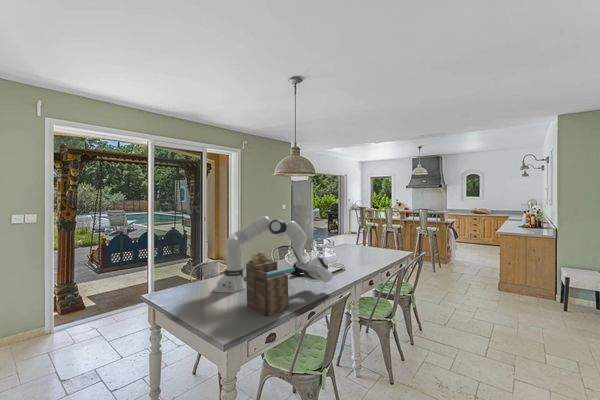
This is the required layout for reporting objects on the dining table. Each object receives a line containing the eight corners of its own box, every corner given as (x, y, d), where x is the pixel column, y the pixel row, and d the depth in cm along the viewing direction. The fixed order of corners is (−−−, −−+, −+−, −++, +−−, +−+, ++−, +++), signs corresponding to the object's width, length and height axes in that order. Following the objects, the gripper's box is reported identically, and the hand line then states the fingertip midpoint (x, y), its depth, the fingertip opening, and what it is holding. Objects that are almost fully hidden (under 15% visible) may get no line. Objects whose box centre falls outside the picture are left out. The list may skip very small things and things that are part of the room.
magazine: (290, 266, 232) (318, 251, 248) (288, 265, 235) (316, 250, 251) (296, 285, 235) (323, 269, 251) (293, 284, 238) (321, 268, 254)
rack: (268, 299, 184) (267, 249, 183) (288, 308, 169) (287, 254, 168) (247, 306, 173) (245, 253, 172) (266, 316, 158) (265, 258, 158)
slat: (290, 269, 179) (290, 266, 179) (294, 270, 176) (294, 267, 176) (261, 277, 164) (261, 273, 164) (265, 278, 162) (265, 275, 161)
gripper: (305, 263, 199) (292, 256, 191) (327, 268, 184) (313, 261, 176) (302, 272, 197) (289, 265, 189) (324, 278, 182) (310, 270, 174)
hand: (301, 263), depth 182 cm, fingers open, 8 cm apart
